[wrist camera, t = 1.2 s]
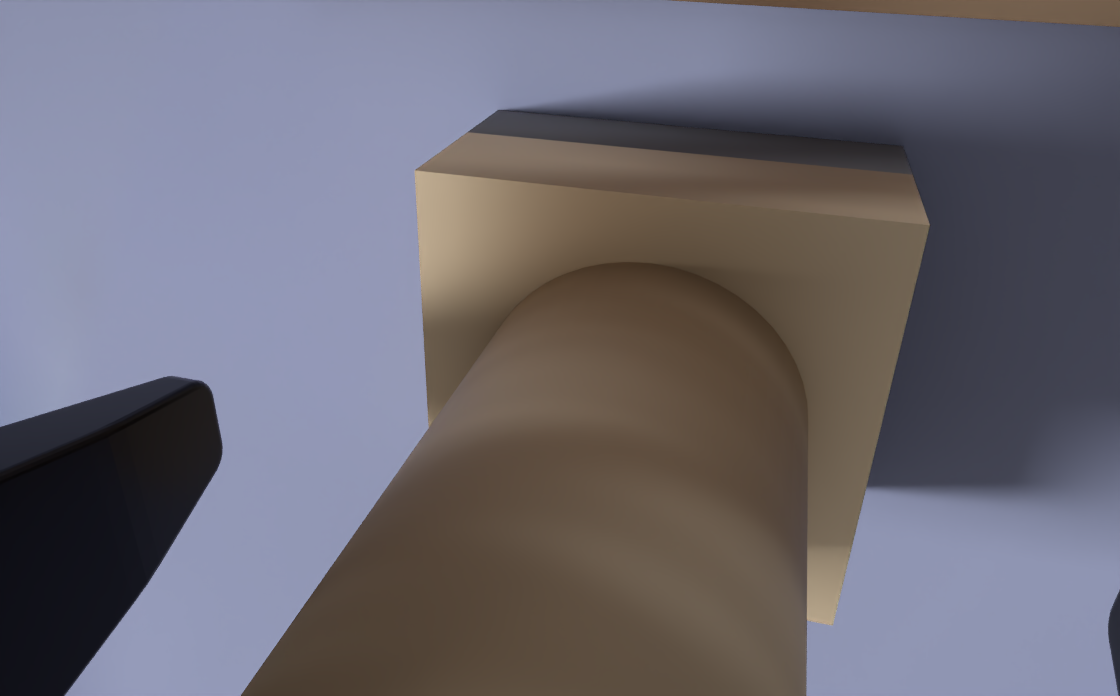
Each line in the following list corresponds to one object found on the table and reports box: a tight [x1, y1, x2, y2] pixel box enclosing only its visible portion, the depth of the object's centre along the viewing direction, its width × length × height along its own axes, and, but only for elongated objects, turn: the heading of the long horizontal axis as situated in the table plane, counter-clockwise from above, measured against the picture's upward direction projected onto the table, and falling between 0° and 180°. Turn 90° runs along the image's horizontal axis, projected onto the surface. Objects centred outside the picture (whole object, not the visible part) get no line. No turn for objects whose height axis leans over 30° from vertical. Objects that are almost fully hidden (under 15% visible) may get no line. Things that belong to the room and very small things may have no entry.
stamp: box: [241, 110, 930, 696], centre depth 8 cm, size 5×5×9 cm
